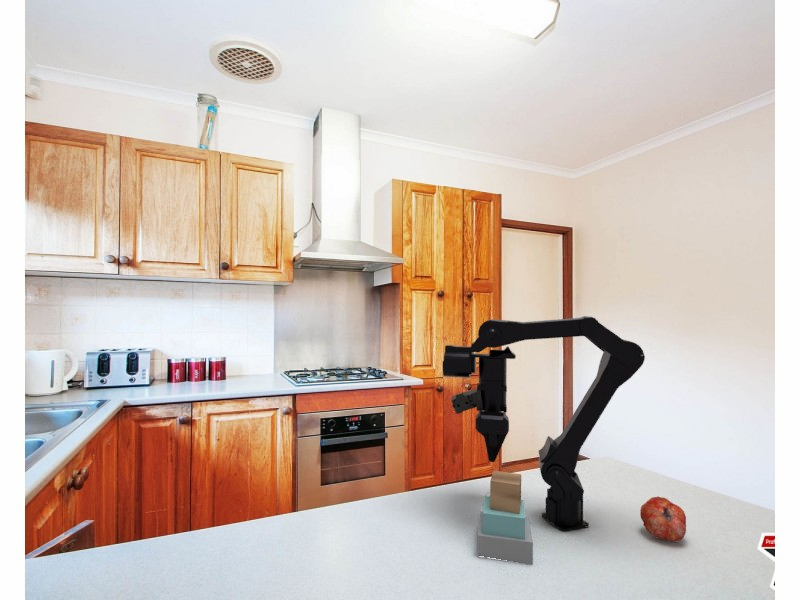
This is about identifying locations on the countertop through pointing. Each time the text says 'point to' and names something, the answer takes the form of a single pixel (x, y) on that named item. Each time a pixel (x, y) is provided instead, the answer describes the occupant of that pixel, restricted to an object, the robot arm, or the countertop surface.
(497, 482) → the walnut cube
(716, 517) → the countertop surface
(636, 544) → the countertop surface
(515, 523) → the teal block
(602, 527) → the countertop surface
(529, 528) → the slate block
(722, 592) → the countertop surface
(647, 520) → the pomegranate
